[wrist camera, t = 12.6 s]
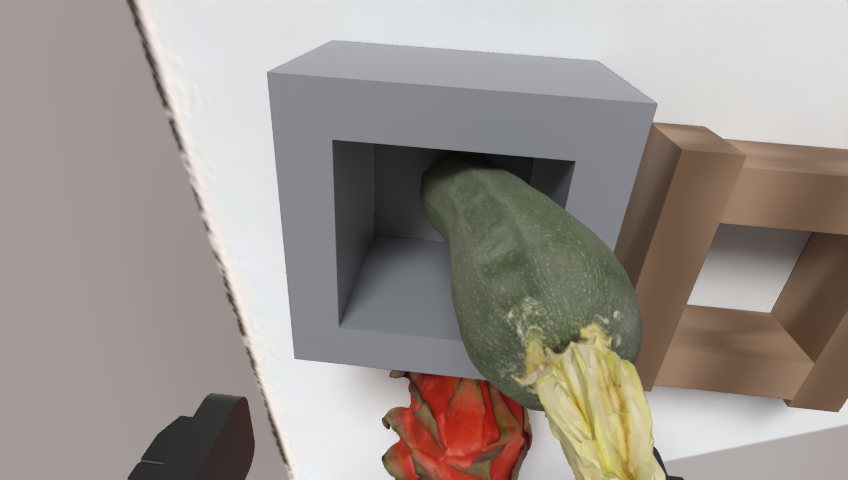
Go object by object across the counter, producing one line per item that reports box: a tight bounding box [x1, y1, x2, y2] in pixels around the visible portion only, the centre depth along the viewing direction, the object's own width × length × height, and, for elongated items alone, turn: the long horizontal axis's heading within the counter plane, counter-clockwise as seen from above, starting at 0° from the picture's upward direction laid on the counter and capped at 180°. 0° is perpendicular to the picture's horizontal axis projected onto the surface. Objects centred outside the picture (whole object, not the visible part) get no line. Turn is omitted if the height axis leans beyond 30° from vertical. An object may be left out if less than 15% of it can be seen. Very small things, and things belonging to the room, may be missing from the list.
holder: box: [267, 40, 657, 380], centre depth 21 cm, size 12×12×8 cm
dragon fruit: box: [382, 370, 532, 480], centre depth 29 cm, size 8×8×12 cm
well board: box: [613, 122, 848, 412], centre depth 24 cm, size 12×13×4 cm
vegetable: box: [420, 155, 666, 480], centre depth 15 cm, size 4×4×20 cm
